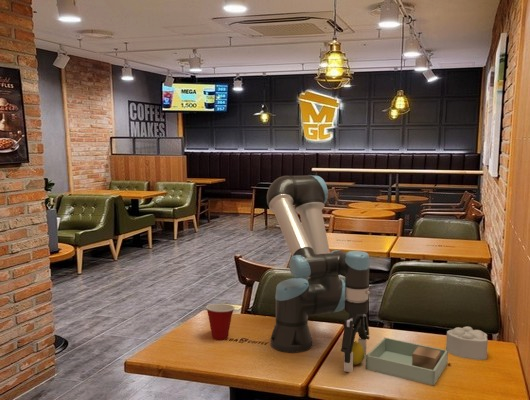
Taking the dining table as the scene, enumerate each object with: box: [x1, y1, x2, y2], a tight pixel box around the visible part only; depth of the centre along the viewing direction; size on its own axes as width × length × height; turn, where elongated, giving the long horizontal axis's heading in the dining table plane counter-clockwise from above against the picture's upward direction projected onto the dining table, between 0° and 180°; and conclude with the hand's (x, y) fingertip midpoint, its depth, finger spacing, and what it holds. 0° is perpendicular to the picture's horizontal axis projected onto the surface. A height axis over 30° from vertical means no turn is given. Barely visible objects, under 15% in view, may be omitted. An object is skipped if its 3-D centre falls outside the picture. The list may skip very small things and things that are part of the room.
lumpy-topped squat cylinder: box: [445, 325, 489, 361], centre depth 171 cm, size 10×13×9 cm
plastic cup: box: [205, 303, 235, 341], centre depth 186 cm, size 11×11×12 cm
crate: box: [365, 337, 449, 386], centre depth 160 cm, size 21×18×5 cm
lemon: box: [352, 340, 365, 366], centre depth 162 cm, size 6×6×8 cm
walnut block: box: [412, 346, 441, 370], centre depth 157 cm, size 7×7×6 cm
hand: (355, 364), depth 162 cm, fingers open, 11 cm apart
